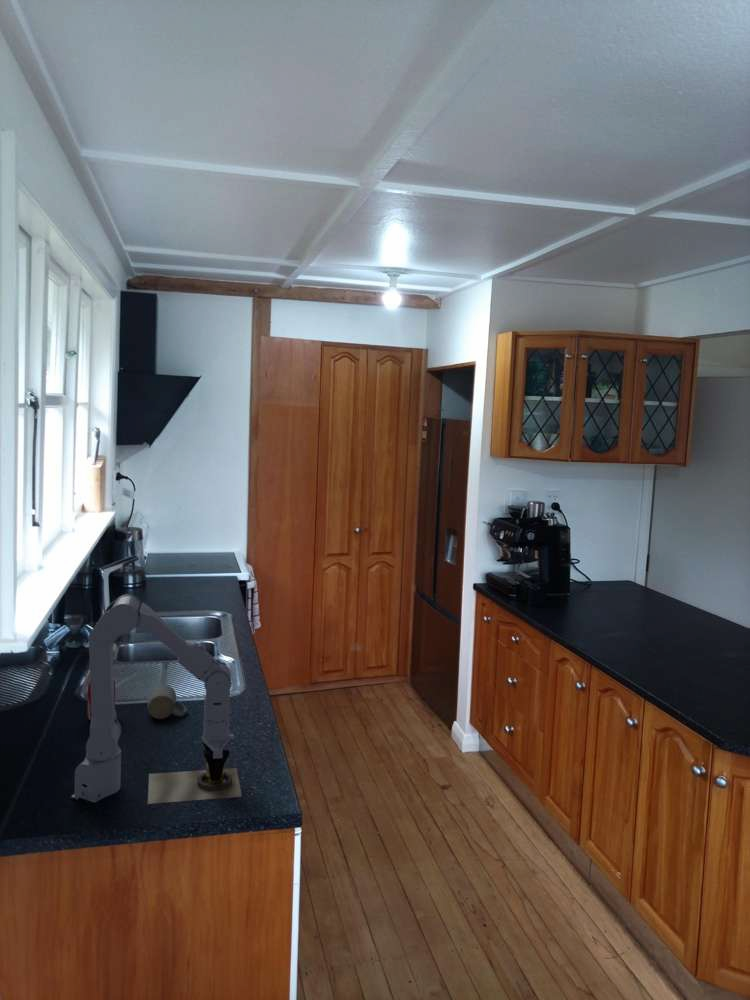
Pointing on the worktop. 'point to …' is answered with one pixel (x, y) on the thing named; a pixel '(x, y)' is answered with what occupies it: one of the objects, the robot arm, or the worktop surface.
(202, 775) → the jig board
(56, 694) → the worktop surface
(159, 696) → the ceramic mug
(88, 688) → the soda can
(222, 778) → the brass fitting
